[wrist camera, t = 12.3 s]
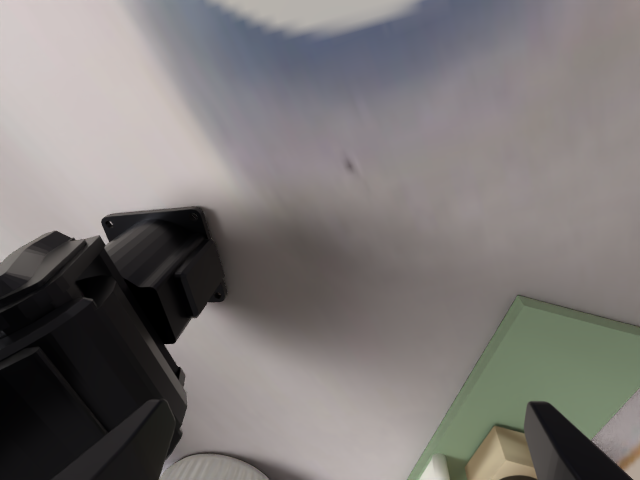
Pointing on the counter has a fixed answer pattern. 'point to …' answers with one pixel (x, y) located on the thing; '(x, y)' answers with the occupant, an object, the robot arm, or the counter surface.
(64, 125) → the counter surface
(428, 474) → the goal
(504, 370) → the board
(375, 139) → the counter surface
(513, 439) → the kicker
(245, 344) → the counter surface
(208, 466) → the ramekin
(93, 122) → the counter surface
